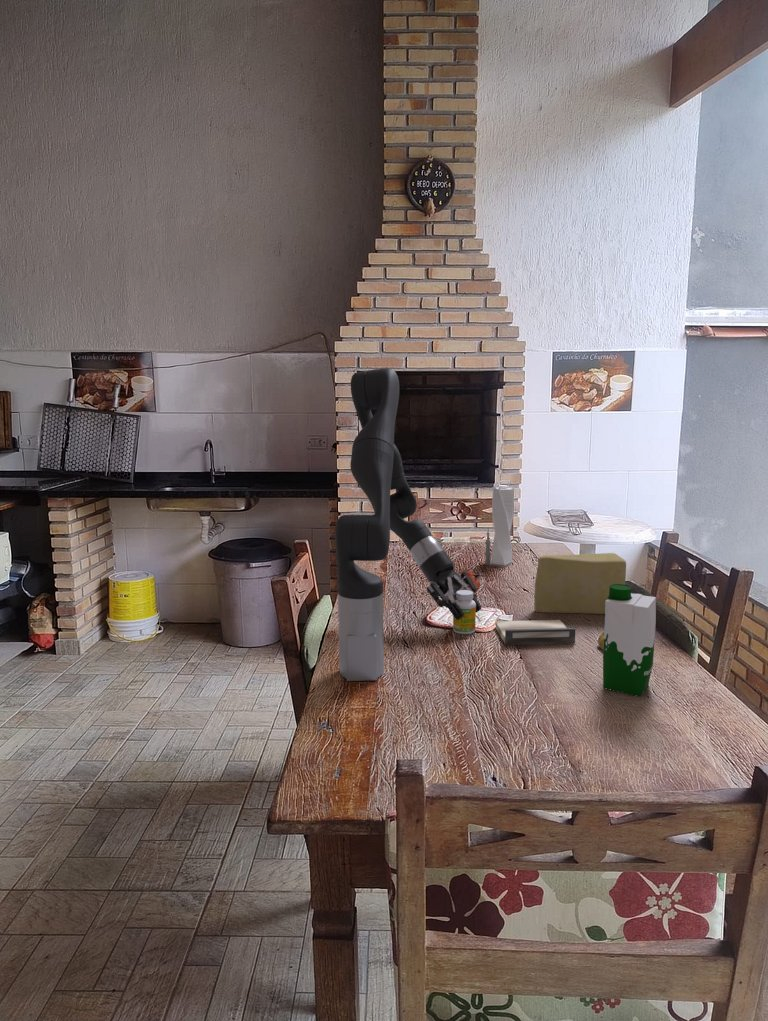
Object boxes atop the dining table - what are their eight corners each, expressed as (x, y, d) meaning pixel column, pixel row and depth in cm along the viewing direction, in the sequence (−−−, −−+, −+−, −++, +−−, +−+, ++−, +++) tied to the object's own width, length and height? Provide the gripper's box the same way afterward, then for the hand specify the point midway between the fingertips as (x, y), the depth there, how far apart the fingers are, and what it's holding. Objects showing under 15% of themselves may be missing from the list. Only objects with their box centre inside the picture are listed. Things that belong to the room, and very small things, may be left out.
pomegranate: (452, 604, 195) (477, 588, 189) (440, 581, 197) (465, 565, 191) (466, 601, 200) (491, 585, 195) (455, 578, 202) (479, 562, 197)
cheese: (538, 617, 177) (540, 560, 174) (530, 605, 186) (531, 551, 184) (625, 616, 177) (628, 559, 174) (612, 604, 186) (615, 550, 184)
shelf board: (575, 644, 158) (575, 629, 158) (506, 645, 158) (506, 631, 157) (559, 625, 170) (560, 612, 170) (495, 627, 170) (495, 613, 169)
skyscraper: (495, 559, 236) (497, 478, 231) (517, 563, 231) (519, 480, 226) (483, 564, 229) (485, 481, 224) (506, 568, 225) (508, 483, 220)
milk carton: (608, 673, 142) (613, 579, 139) (655, 683, 137) (661, 586, 134) (597, 689, 135) (601, 590, 131) (645, 700, 130) (652, 598, 127)
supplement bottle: (460, 636, 164) (460, 596, 162) (449, 629, 169) (449, 590, 167) (479, 632, 166) (480, 593, 164) (468, 625, 171) (468, 587, 169)
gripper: (421, 555, 164) (461, 613, 158) (457, 544, 174) (496, 598, 169) (404, 573, 168) (442, 630, 163) (441, 561, 179) (478, 615, 173)
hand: (469, 614), depth 166 cm, fingers open, 6 cm apart
